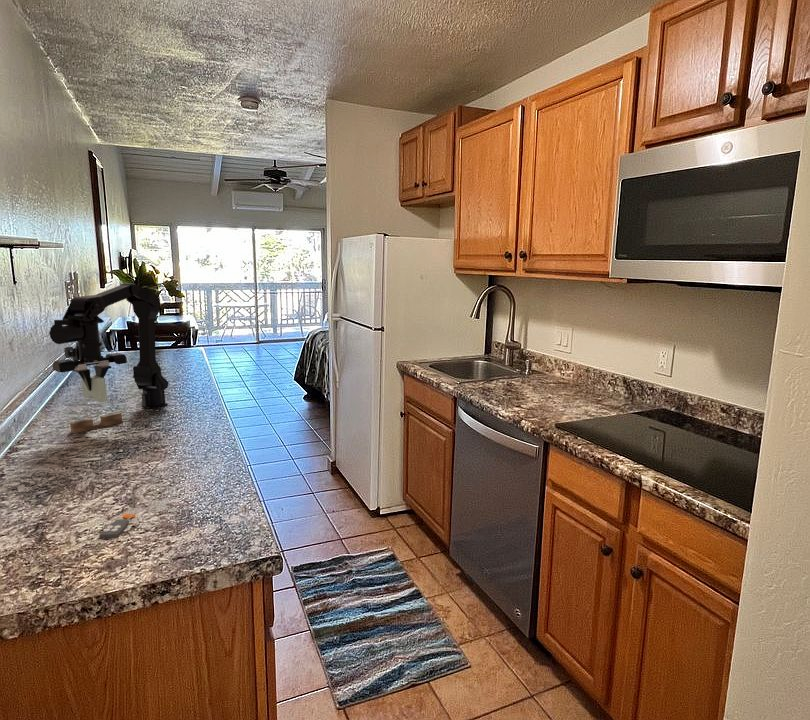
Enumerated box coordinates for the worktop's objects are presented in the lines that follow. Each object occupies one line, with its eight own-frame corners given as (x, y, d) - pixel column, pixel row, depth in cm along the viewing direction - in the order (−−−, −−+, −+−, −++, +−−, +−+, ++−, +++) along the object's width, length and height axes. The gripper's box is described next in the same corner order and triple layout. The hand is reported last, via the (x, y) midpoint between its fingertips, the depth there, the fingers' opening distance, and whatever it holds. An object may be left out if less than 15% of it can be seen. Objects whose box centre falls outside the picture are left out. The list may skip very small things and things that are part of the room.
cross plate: (83, 396, 162) (80, 374, 160) (90, 394, 163) (87, 373, 162) (100, 402, 155) (97, 379, 153) (107, 401, 156) (104, 378, 155)
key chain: (118, 540, 97) (118, 532, 96) (98, 540, 97) (97, 533, 96) (148, 507, 109) (148, 501, 109) (130, 508, 109) (130, 501, 109)
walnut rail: (119, 421, 167) (118, 412, 166) (122, 422, 165) (121, 413, 165) (71, 432, 156) (69, 422, 155) (73, 433, 155) (72, 423, 154)
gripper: (109, 333, 168) (114, 380, 171) (42, 340, 153) (48, 391, 156) (125, 336, 161) (130, 385, 164) (57, 344, 146) (63, 397, 149)
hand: (94, 389), depth 158 cm, fingers closed on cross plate, 2 cm apart
